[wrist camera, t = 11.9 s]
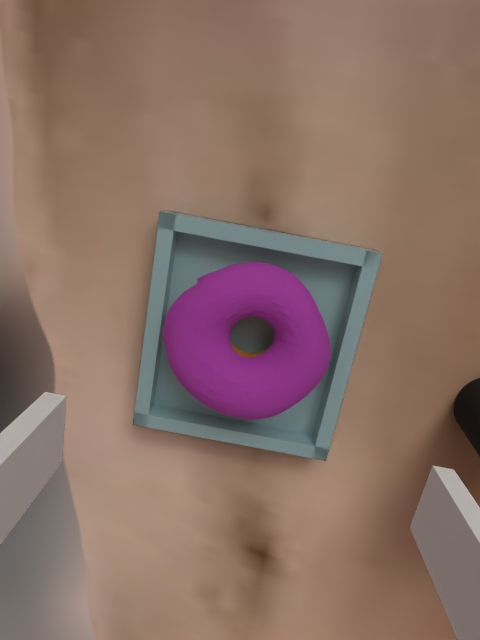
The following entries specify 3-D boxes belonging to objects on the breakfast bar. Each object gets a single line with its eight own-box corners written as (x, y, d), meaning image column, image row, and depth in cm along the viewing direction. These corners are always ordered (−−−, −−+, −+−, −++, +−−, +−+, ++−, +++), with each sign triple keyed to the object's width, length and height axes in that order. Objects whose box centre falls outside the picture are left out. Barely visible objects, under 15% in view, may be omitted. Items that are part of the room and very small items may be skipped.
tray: (167, 210, 29) (159, 211, 27) (373, 249, 29) (382, 253, 27) (141, 410, 33) (132, 424, 31) (321, 444, 33) (325, 460, 31)
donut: (345, 362, 30) (359, 390, 26) (221, 420, 32) (214, 456, 28) (278, 231, 28) (281, 237, 24) (148, 301, 30) (128, 319, 26)
